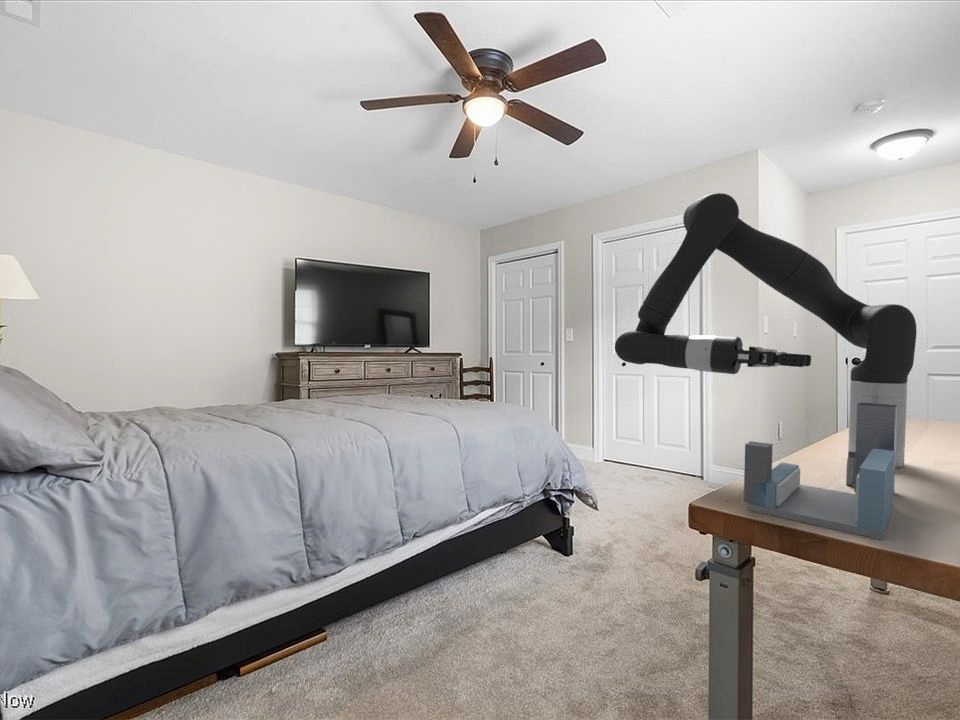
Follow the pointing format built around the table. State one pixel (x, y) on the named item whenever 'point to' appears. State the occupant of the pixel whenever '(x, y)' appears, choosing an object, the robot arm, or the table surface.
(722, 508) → the table surface
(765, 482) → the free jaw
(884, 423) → the steel block
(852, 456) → the caliper
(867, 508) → the vise base
